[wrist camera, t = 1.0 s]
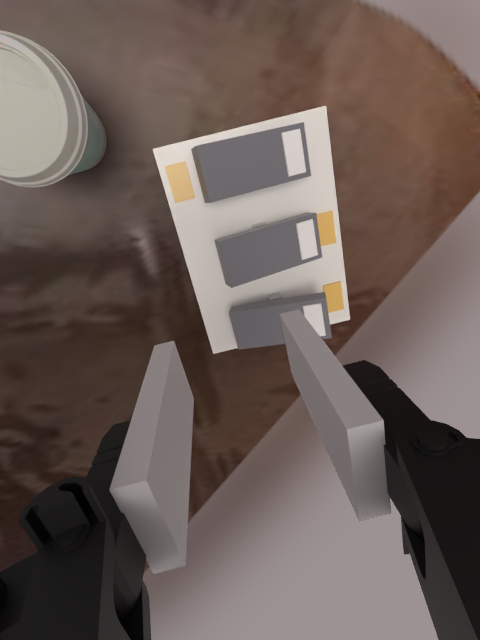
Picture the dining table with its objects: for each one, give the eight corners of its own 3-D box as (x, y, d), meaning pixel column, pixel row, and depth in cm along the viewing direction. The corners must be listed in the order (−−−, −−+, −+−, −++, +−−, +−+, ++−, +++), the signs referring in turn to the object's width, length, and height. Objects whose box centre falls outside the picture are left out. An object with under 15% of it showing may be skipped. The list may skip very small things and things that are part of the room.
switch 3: (240, 341, 35) (237, 350, 33) (231, 306, 33) (228, 313, 32) (330, 330, 33) (331, 338, 31) (325, 291, 31) (326, 298, 30)
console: (212, 338, 40) (213, 361, 35) (158, 153, 32) (149, 147, 27) (336, 307, 40) (356, 325, 35) (312, 114, 32) (332, 101, 27)
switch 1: (204, 203, 27) (210, 202, 26) (191, 149, 26) (196, 145, 24) (301, 177, 30) (312, 175, 28) (293, 126, 28) (304, 121, 27)
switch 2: (225, 284, 30) (232, 288, 29) (214, 239, 29) (220, 241, 27) (312, 255, 32) (323, 257, 31) (306, 212, 31) (317, 212, 29)
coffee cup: (141, 138, 32) (107, 113, 20) (83, 205, 33) (23, 216, 22) (62, 55, 29) (-28, -26, 18) (3, 133, 30) (-112, 104, 19)
